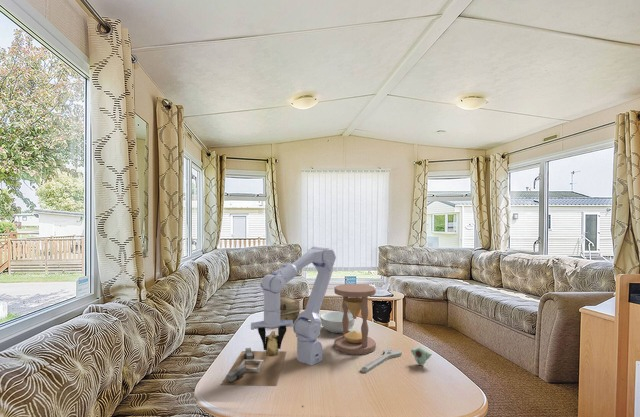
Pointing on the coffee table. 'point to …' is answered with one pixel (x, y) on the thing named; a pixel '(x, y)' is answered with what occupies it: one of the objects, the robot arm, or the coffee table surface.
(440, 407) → the coffee table surface
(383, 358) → the adjustable wrench
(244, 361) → the tan wooden flat board
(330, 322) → the cereal bowl
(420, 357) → the robot head
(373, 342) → the hourglass
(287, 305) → the miniature house
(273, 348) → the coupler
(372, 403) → the coffee table surface
